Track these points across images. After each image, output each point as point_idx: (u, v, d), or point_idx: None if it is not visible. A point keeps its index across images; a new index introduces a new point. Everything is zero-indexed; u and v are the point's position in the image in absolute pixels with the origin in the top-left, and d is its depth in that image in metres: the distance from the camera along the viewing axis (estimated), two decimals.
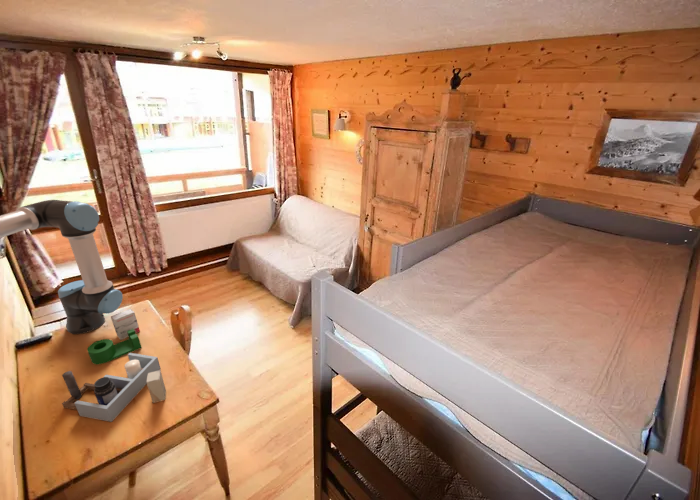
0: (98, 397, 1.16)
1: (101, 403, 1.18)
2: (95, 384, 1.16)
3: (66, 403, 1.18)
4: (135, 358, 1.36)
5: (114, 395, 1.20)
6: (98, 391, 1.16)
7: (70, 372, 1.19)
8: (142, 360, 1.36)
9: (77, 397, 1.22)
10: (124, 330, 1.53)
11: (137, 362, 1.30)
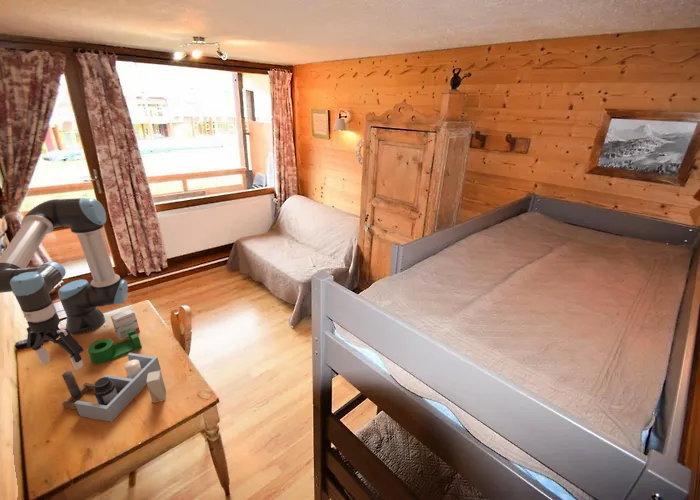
0: (98, 397, 1.16)
1: (101, 403, 1.18)
2: (95, 384, 1.16)
3: (66, 403, 1.18)
4: (135, 358, 1.36)
5: (114, 395, 1.20)
6: (98, 391, 1.16)
7: (70, 372, 1.19)
8: (142, 360, 1.36)
9: (77, 397, 1.22)
10: (124, 330, 1.53)
11: (137, 362, 1.30)
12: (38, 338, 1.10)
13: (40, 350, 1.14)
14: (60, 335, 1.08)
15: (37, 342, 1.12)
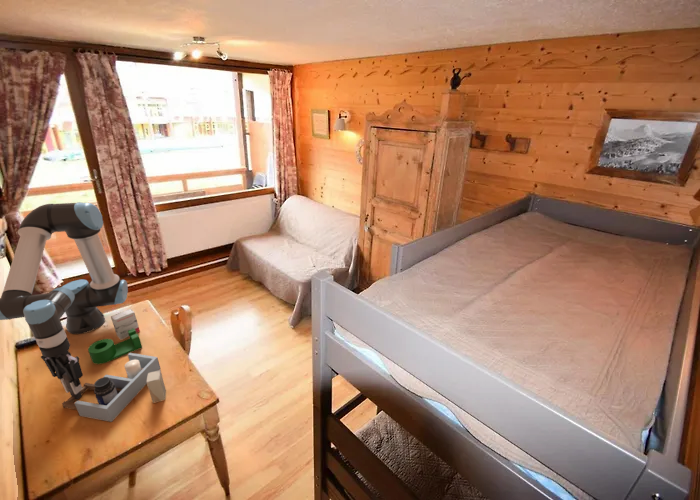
0: (98, 397, 1.16)
1: (101, 403, 1.18)
2: (95, 384, 1.16)
3: (66, 403, 1.18)
4: (135, 358, 1.36)
5: (114, 395, 1.20)
6: (98, 391, 1.16)
7: None
8: (142, 360, 1.36)
9: (77, 397, 1.22)
10: (124, 330, 1.53)
11: (137, 362, 1.30)
12: (53, 363, 1.15)
13: None
14: (71, 363, 1.14)
15: (56, 369, 1.16)
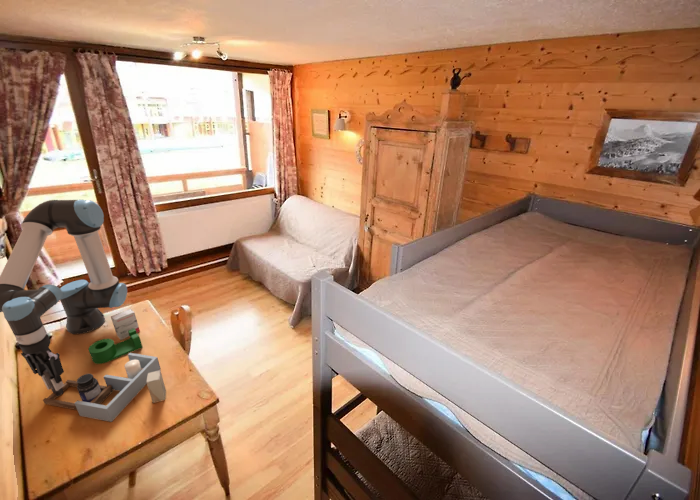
0: (80, 393, 1.18)
1: (83, 399, 1.19)
2: (78, 380, 1.17)
3: (47, 400, 1.19)
4: (135, 358, 1.36)
5: (97, 392, 1.21)
6: (80, 387, 1.17)
7: None
8: (142, 360, 1.36)
9: (58, 394, 1.23)
10: (124, 330, 1.53)
11: (137, 362, 1.30)
12: (33, 360, 1.16)
13: None
14: (51, 359, 1.15)
15: (37, 366, 1.17)
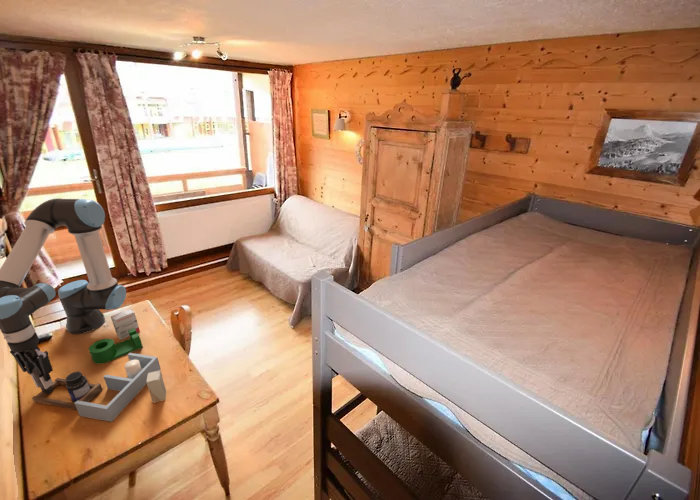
0: (69, 391, 1.18)
1: (72, 397, 1.19)
2: (67, 378, 1.18)
3: (36, 397, 1.20)
4: (135, 358, 1.36)
5: (86, 390, 1.21)
6: (69, 385, 1.18)
7: None
8: (142, 360, 1.36)
9: (48, 392, 1.24)
10: (124, 330, 1.53)
11: (137, 362, 1.30)
12: (22, 358, 1.16)
13: None
14: (39, 357, 1.15)
15: (26, 364, 1.18)
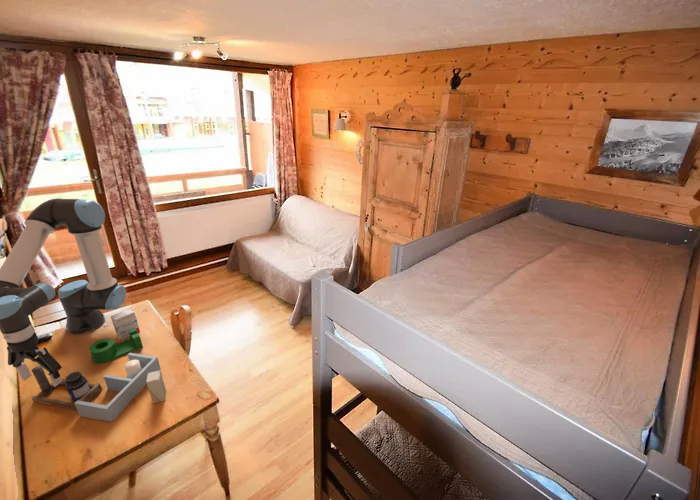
0: (69, 391, 1.18)
1: (72, 397, 1.20)
2: (66, 378, 1.18)
3: (36, 397, 1.20)
4: (135, 358, 1.36)
5: (86, 390, 1.22)
6: (69, 385, 1.18)
7: (40, 367, 1.21)
8: (142, 360, 1.36)
9: (47, 392, 1.24)
10: (124, 330, 1.53)
11: (137, 362, 1.30)
12: (18, 357, 1.16)
13: (21, 367, 1.21)
14: (38, 354, 1.14)
15: (17, 360, 1.18)
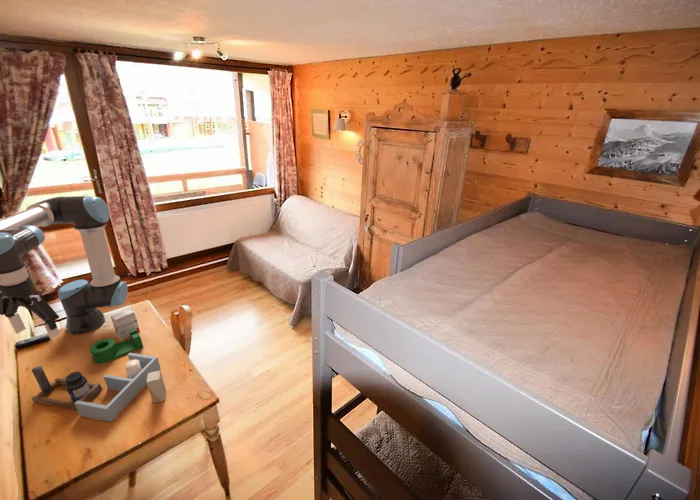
0: (69, 391, 1.18)
1: (72, 397, 1.20)
2: (66, 378, 1.18)
3: (36, 397, 1.20)
4: (135, 358, 1.36)
5: (86, 390, 1.22)
6: (69, 385, 1.18)
7: (40, 367, 1.21)
8: (142, 360, 1.36)
9: (47, 392, 1.24)
10: (124, 330, 1.53)
11: (137, 362, 1.30)
12: (10, 304, 1.05)
13: (14, 317, 1.10)
14: (33, 300, 1.03)
15: (10, 308, 1.07)
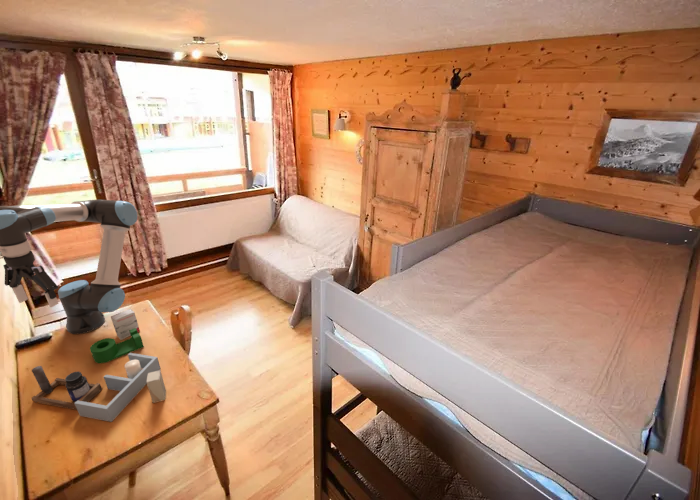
0: (69, 391, 1.18)
1: (72, 397, 1.20)
2: (66, 378, 1.18)
3: (36, 397, 1.20)
4: (135, 358, 1.36)
5: (86, 390, 1.22)
6: (69, 385, 1.18)
7: (40, 367, 1.21)
8: (142, 360, 1.36)
9: (47, 392, 1.24)
10: (124, 330, 1.53)
11: (137, 362, 1.30)
12: (14, 274, 1.18)
13: (17, 288, 1.22)
14: (34, 271, 1.16)
15: (14, 279, 1.19)
